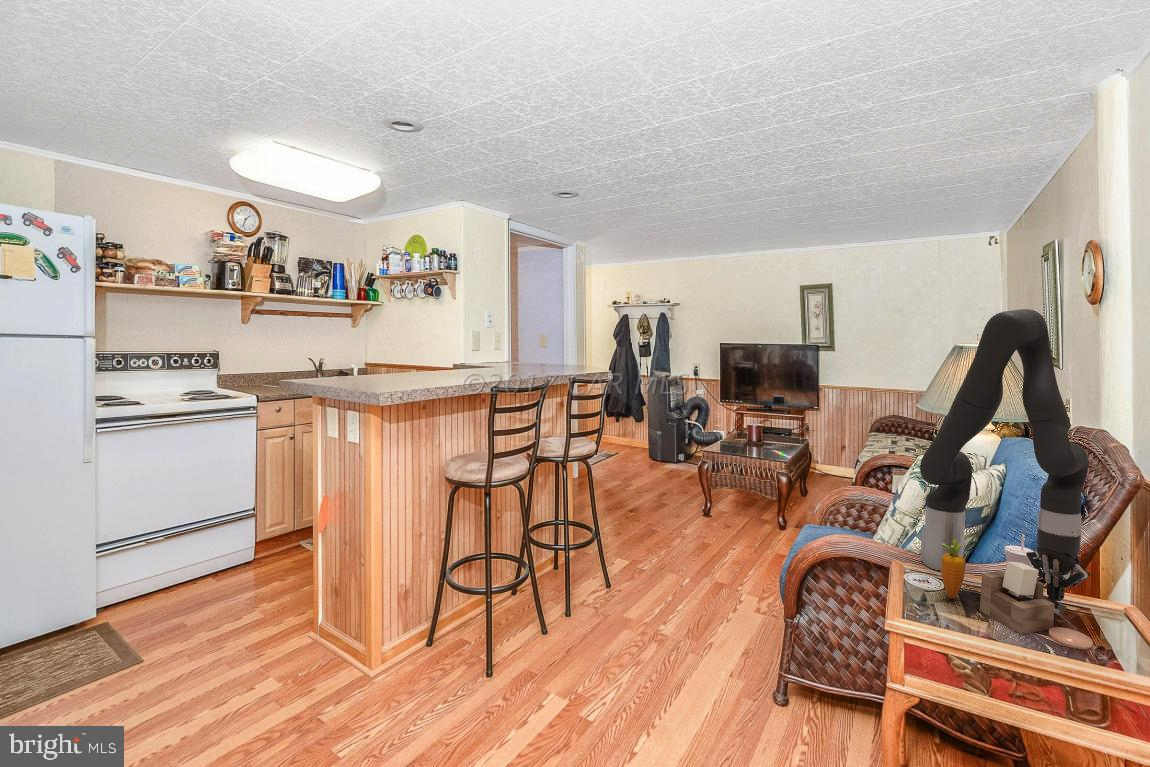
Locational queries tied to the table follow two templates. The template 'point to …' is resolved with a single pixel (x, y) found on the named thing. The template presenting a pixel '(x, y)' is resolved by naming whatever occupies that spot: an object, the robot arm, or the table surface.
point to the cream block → (1020, 578)
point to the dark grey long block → (1057, 607)
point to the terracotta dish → (1070, 638)
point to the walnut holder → (1015, 605)
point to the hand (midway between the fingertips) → (1055, 599)
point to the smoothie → (1018, 553)
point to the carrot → (952, 569)
